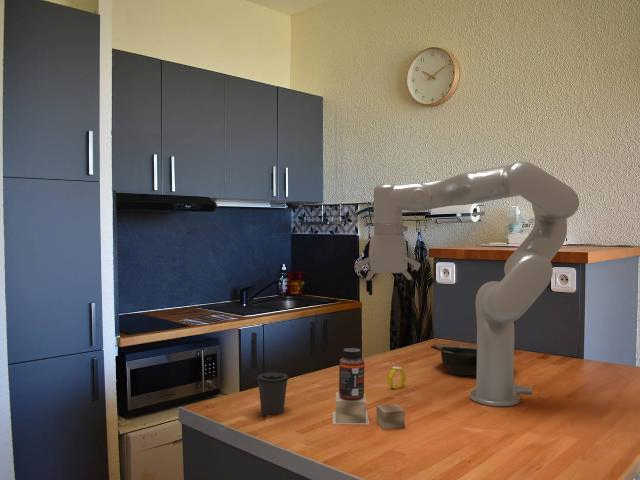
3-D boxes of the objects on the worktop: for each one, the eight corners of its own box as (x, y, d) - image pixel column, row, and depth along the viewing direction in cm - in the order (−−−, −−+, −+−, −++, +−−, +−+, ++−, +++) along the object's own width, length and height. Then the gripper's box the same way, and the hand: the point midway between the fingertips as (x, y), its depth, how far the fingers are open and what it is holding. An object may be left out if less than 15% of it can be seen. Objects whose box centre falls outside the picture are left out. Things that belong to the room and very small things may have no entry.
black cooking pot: (454, 382, 168) (453, 351, 168) (420, 368, 192) (419, 340, 192) (529, 376, 173) (527, 346, 174) (486, 363, 198) (485, 336, 198)
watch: (399, 386, 166) (400, 365, 166) (406, 388, 164) (408, 367, 164) (385, 388, 162) (386, 367, 162) (392, 390, 160) (393, 369, 160)
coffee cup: (263, 421, 134) (263, 379, 134) (251, 411, 142) (251, 371, 141) (294, 416, 138) (294, 375, 138) (281, 406, 145) (281, 367, 145)
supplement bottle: (362, 401, 132) (362, 352, 131) (336, 399, 133) (337, 351, 133) (365, 394, 138) (366, 347, 137) (341, 392, 139) (341, 346, 138)
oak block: (396, 420, 134) (396, 404, 133) (404, 428, 129) (404, 410, 129) (376, 422, 132) (376, 405, 132) (383, 430, 128) (383, 412, 127)
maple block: (364, 413, 139) (364, 392, 139) (365, 423, 132) (366, 401, 132) (335, 412, 139) (335, 392, 139) (335, 422, 132) (335, 401, 132)
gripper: (417, 230, 156) (418, 292, 157) (354, 231, 156) (355, 293, 157) (422, 230, 149) (423, 296, 149) (356, 231, 149) (357, 296, 149)
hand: (388, 294), depth 153 cm, fingers open, 9 cm apart
